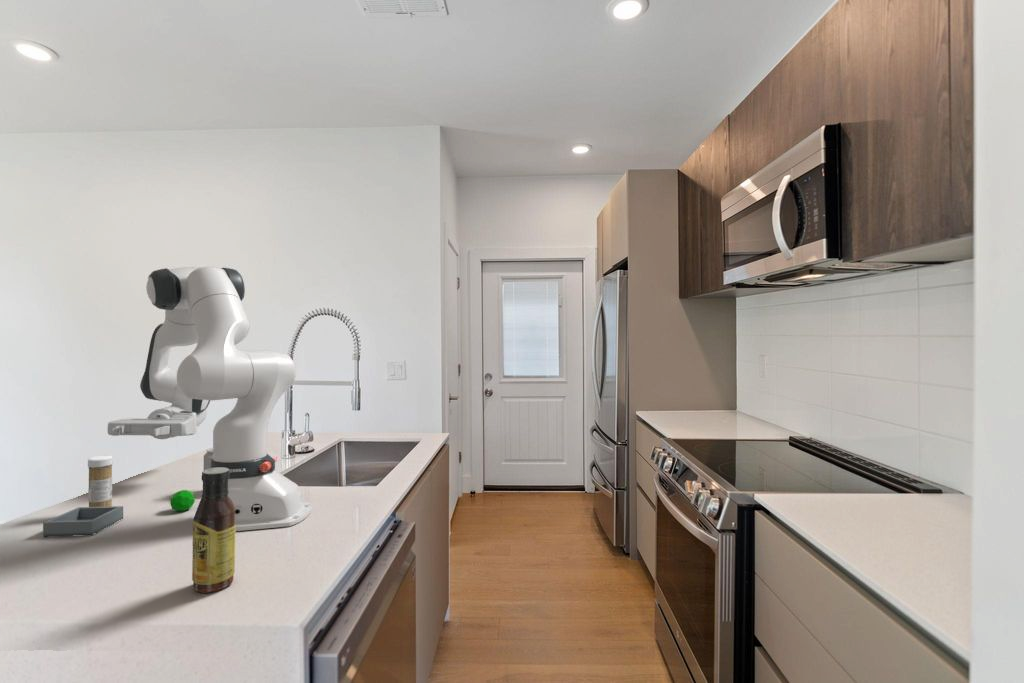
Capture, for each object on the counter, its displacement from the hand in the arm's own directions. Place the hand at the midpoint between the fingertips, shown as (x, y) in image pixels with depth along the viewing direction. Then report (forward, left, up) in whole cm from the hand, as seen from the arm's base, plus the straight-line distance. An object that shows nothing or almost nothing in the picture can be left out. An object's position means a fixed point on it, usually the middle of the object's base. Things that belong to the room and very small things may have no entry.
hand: (133, 432), depth 131 cm
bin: (-3, +21, -17) cm, 27 cm away
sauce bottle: (-44, +50, -17) cm, 69 cm away
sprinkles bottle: (0, +12, -17) cm, 21 cm away
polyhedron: (-18, +11, -17) cm, 27 cm away
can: (-20, -3, -17) cm, 27 cm away
